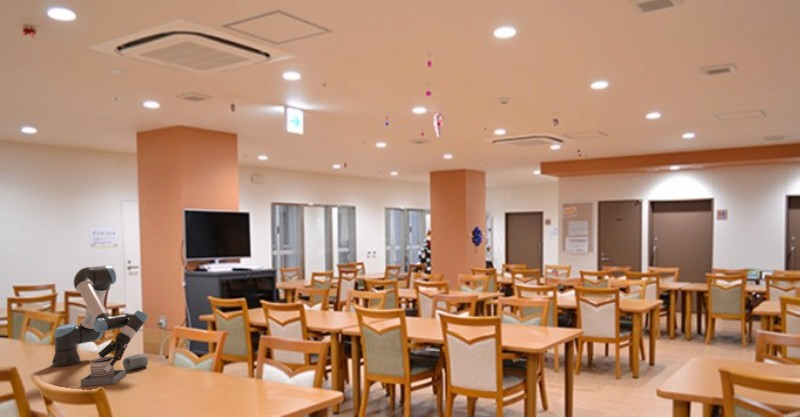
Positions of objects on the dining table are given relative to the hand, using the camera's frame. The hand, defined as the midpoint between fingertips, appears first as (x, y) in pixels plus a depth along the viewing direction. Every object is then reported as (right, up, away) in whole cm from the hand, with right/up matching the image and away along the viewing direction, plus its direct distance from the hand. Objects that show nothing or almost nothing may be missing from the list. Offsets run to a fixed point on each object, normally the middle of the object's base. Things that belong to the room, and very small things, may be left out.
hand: (99, 369), depth 314 cm
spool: (+8, -7, +25) cm, 28 cm away
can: (+1, -7, +1) cm, 7 cm away
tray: (+2, -7, +2) cm, 7 cm away
